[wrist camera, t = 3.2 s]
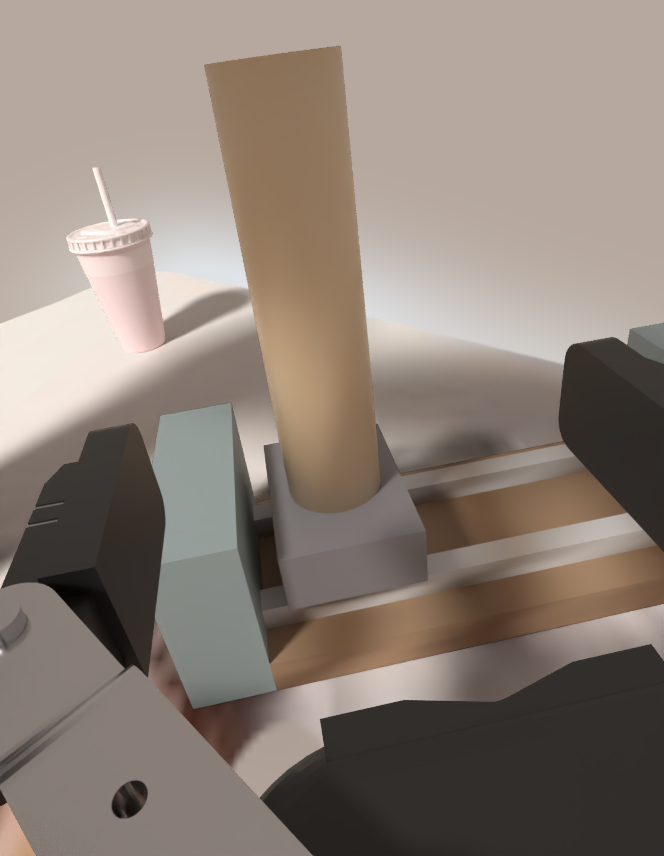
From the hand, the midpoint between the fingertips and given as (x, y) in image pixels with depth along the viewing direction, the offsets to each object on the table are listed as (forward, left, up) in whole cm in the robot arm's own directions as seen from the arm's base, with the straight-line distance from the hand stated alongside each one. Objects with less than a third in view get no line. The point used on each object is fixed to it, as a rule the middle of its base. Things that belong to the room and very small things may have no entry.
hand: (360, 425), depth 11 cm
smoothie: (-12, +40, -13) cm, 43 cm away
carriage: (0, +8, -10) cm, 13 cm away
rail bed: (+6, +9, -13) cm, 17 cm away
